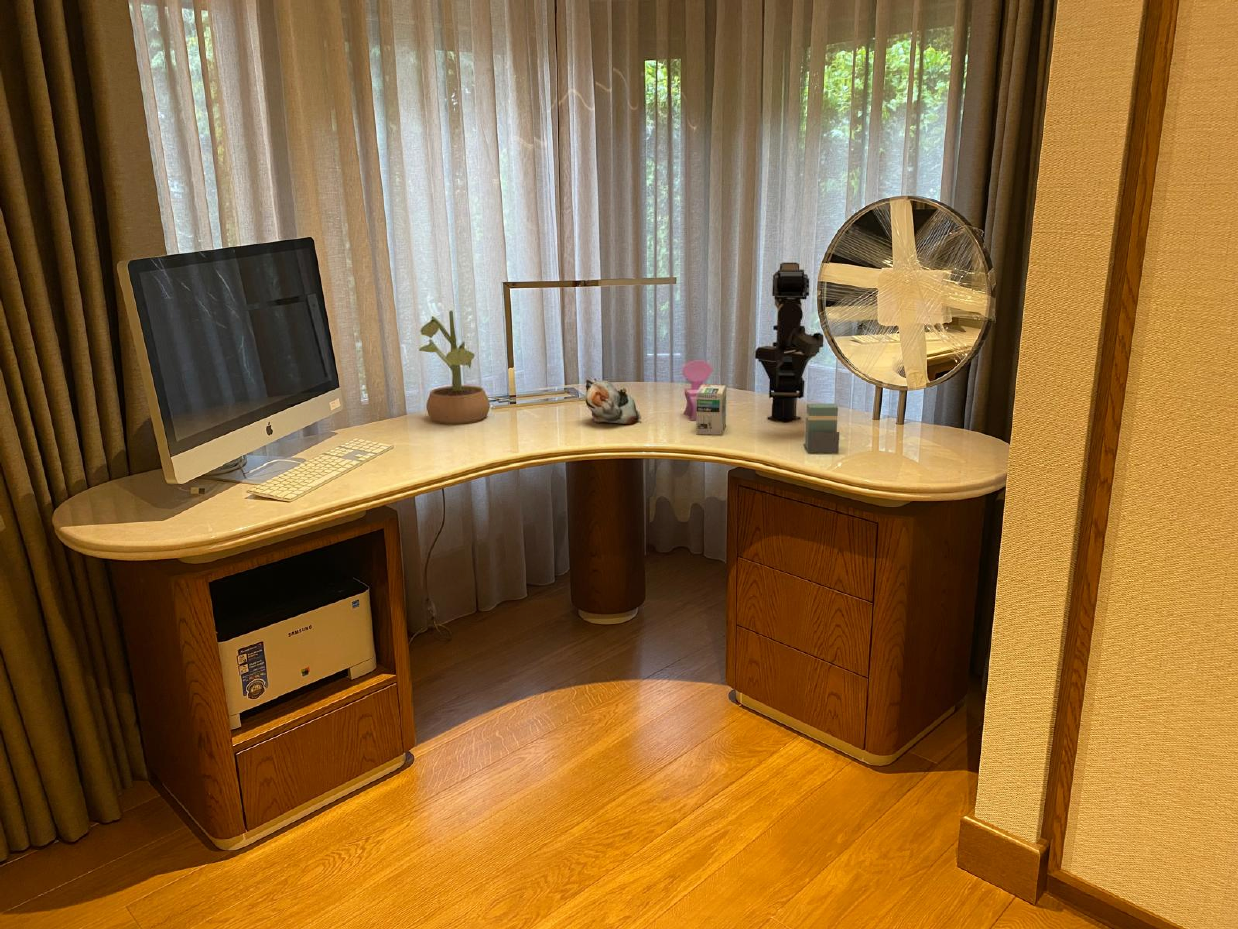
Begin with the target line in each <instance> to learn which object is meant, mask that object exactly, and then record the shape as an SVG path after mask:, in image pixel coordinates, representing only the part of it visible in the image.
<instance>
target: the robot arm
mask: <svg viewBox="0 0 1238 929" xmlns="http://www.w3.org/2000/svg"><path fill="white" fill-rule="evenodd" d="M771 290H772V291H771V292H772V294H771V296H772V297H774V298H773V299H774V306H775V308H776V309H777V317H776V318H777V321H776V325H773V331H776V341H774V342H772V345H763V346H758V347H757V348H756V349H755V352H754V359H756V360H758V362H760V363H761V365H762V367H763V369H764V371H765V373H766V374H767V377H768V379H769V385H768V386H769V388H768V398H769V399H770V398H772V403H771V415H770V416H767V419H768V420H772V421H775V422H782V423H787V424H788V423H790V422H793V421H799V420H801V418H802V417H801V416H797V404H798V403H797V402H798V399H802V398H804V397H805V396H804V395H805V394H804V393H805V380H804V379H803V374H804V373H805V370H806V366H807V365H808V362H809V361H810V360H811V359H813V358H815V357H816V356H817V354H819V353H820V348H823V347H824V334H823V333H821V332H815V333H813V334H808V333H806V327H805V325H802V320H803V317H804V315H803V314H804V313H803V308H802V305H803V304H802V300H807V299H808V298H807V297H808V296H810V278H809V277H808V274H807V273H805V270H804V269H800V262H799V263H798V262H795V261H793V262H782V263H779V269H778V270H777V271H776V272H775V273H774V274H773V275H772V289H771ZM767 419H766V420H767Z"/></svg>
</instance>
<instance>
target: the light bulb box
mask: <svg viewBox="0 0 1238 929" xmlns="http://www.w3.org/2000/svg"><path fill="white" fill-rule="evenodd" d="M726 419H727V385H720V384H719V385H715V384H702V385H701V386H700V388H699V390H698V391H697V419H696V421H695V422H696V425H695V426H696V428H695V429H696V430H695V433H696V435H708V434H710V435H713V436H723V433H724V432H725V429H726V427H725V426H727V423H726V422H727V420H726Z"/></svg>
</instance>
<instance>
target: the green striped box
mask: <svg viewBox="0 0 1238 929" xmlns="http://www.w3.org/2000/svg"><path fill="white" fill-rule="evenodd" d="M838 415H839V407H838V406H837V404H836V403H806V417H805V421H806V422H805V438H804V440H805V441H804V444H805V446H806V448H807V447H808V432H838Z"/></svg>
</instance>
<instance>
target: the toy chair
mask: <svg viewBox="0 0 1238 929" xmlns="http://www.w3.org/2000/svg"><path fill="white" fill-rule="evenodd" d="M681 373H682V375H683V376H684V378H686V379H687V381H689V382H691V385H690V386H691V388H684V397H685V399H686V406H685V409H684V411H683V415H691V418H690V420H689V421H690V422H695V421H694V420H696V419H697V391H698V390H699V388H700V386H701V385H704V384H703V383H704V382H705V381H707V380H708V379H710V376H711V375H712V373H713V367H712V364H710V363H708V362H706V361H704V360H698V359H697V360H691V361H690V362H687V363H685V365H683V367H682V369H681Z"/></svg>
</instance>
